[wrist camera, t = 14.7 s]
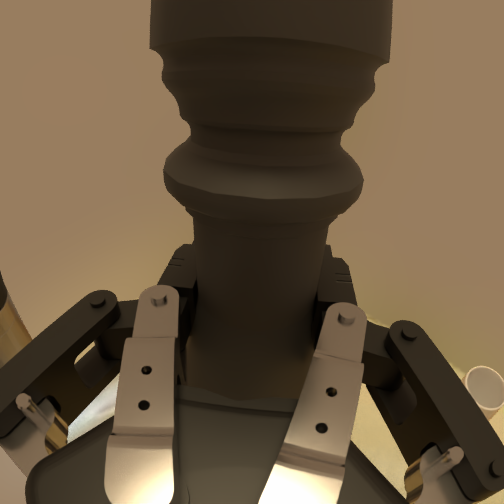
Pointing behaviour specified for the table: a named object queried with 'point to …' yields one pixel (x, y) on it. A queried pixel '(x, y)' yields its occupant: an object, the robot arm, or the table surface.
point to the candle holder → (263, 169)
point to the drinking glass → (485, 389)
